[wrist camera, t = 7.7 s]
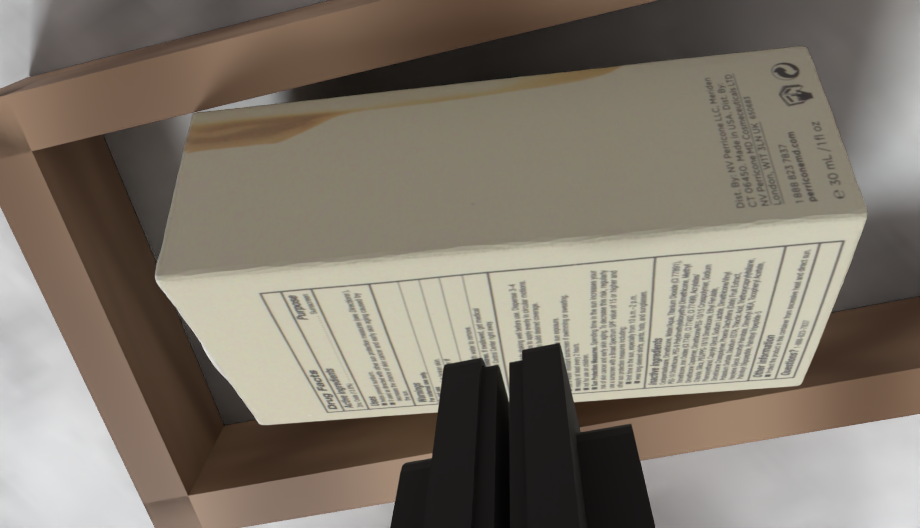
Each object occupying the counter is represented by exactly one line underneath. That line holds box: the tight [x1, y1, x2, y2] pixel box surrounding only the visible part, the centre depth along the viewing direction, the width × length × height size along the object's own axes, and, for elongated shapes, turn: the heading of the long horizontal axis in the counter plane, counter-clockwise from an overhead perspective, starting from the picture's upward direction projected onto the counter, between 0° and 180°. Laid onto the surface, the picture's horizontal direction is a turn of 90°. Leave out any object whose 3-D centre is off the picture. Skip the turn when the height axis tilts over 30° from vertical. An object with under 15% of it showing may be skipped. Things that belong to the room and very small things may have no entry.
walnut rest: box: [0, 0, 920, 528], centre depth 20 cm, size 22×11×3 cm, turn 104°
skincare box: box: [155, 46, 868, 425], centre depth 18 cm, size 6×4×12 cm
